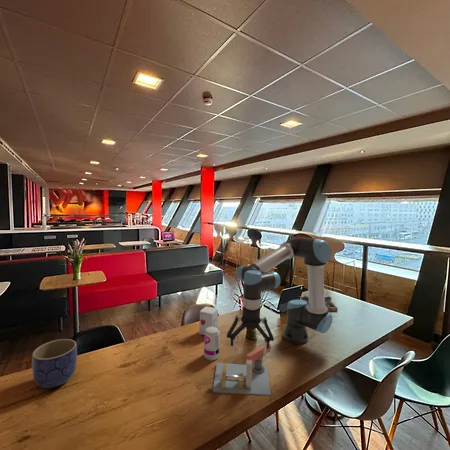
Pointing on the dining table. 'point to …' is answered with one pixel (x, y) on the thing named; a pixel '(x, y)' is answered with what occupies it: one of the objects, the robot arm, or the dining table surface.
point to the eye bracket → (240, 383)
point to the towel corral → (333, 307)
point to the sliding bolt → (236, 377)
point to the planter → (54, 363)
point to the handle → (257, 353)
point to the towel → (327, 300)
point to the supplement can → (211, 343)
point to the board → (258, 382)
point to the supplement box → (207, 318)
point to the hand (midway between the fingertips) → (249, 354)
